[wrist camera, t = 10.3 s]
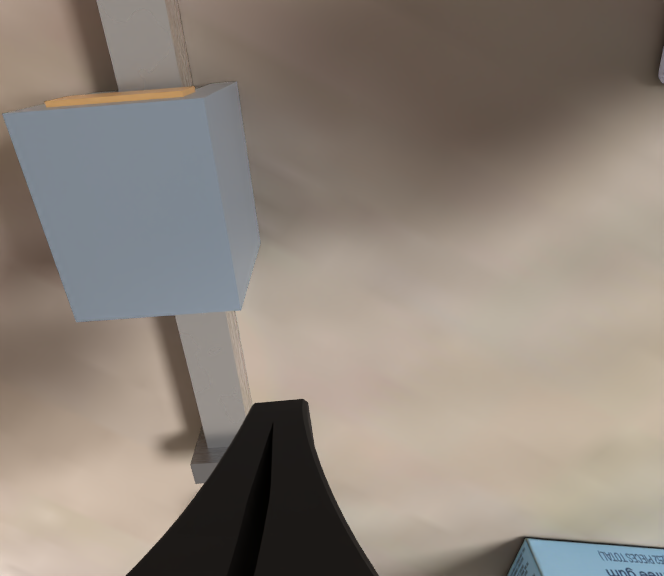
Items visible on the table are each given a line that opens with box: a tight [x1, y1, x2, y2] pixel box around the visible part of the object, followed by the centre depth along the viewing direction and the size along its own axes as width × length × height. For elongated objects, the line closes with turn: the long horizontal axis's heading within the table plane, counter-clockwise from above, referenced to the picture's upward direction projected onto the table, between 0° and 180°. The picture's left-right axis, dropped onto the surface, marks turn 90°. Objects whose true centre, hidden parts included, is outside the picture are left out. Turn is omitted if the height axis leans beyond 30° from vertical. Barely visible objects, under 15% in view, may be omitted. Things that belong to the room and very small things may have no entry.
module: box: [2, 81, 260, 322], centre depth 16 cm, size 5×6×6 cm
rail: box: [96, 0, 252, 484], centre depth 18 cm, size 3×22×2 cm, turn 4°
